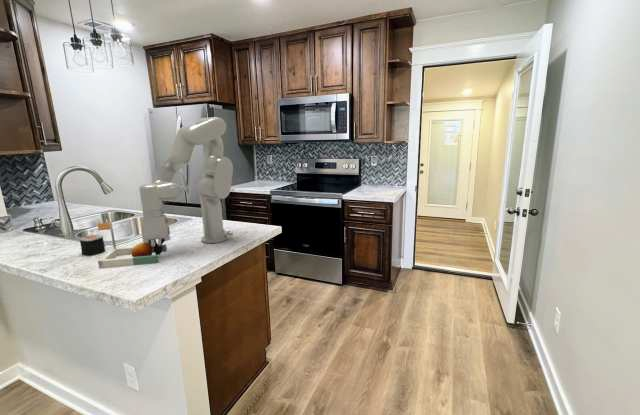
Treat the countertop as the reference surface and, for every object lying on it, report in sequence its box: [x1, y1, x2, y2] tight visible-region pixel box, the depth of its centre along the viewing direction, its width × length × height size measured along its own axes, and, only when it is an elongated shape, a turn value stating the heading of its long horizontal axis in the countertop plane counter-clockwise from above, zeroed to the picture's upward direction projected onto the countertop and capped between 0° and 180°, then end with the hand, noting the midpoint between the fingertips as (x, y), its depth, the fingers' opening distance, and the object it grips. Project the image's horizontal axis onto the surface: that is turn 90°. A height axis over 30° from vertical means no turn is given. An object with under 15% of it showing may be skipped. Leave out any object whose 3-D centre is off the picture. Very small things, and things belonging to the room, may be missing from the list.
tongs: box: [97, 222, 168, 269], centre depth 128 cm, size 26×15×15 cm, turn 103°
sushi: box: [79, 234, 106, 257], centre depth 137 cm, size 8×8×8 cm
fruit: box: [131, 241, 153, 257], centre depth 130 cm, size 8×8×8 cm
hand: (158, 253), depth 132 cm, fingers closed
